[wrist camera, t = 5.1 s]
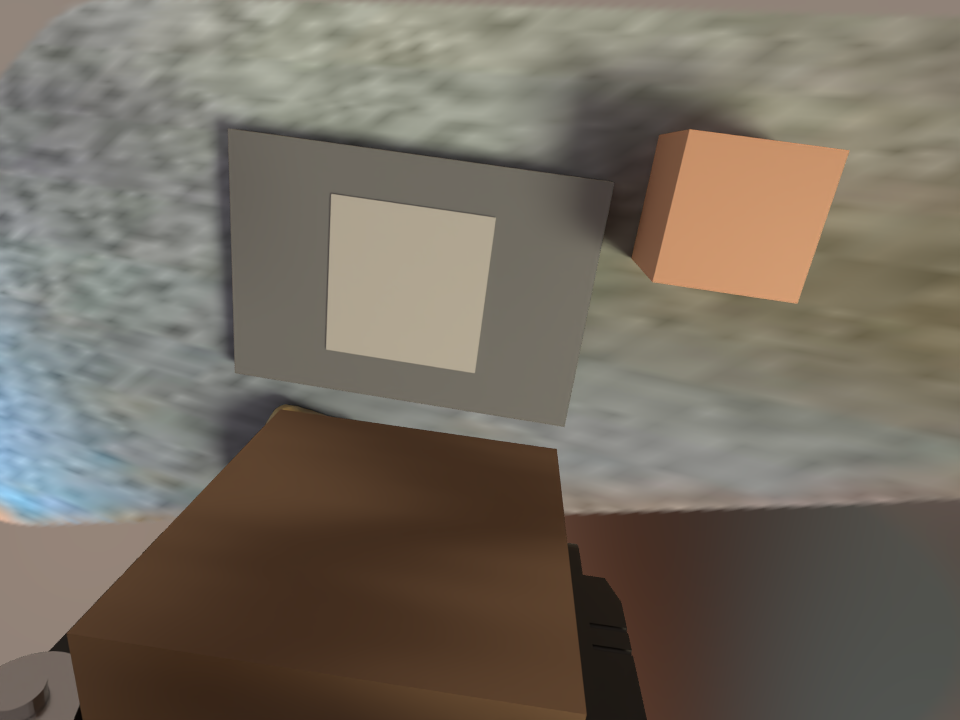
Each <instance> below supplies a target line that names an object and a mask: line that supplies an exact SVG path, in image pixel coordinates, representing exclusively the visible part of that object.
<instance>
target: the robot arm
mask: <svg viewBox="0 0 960 720" xmlns="http://www.w3.org/2000/svg"><path fill="white" fill-rule="evenodd" d="M162 533H163V532H162ZM162 533H161V534H162ZM161 534H160V535H161ZM160 535H159V536H160ZM159 536H158V537H159ZM567 545H568V553H569V562H570V571H571V580H572V589H573V598H574V606H575V615H576V624H577V633H578V642H579V651H580V659H581V668H582V677H583V686H584V695H585V704H586V712H587V716H586V719H585V720H647V718H646V714H645V709H644V705H643V700H642V696H641V691H640V686H639V682H638V677H637V672H636V668H635V663H634V659H633V656H631V651H632V649H631V645H630V640H629V636H628V633H627V627H626V622H625V617H624V613H623V608H622V604H621V601H620V600H619V598H618V597H617V595H616V594H615V592H614V591H613V590H612V588H611V587H610V585H609V584H608V582H607V581H606V580H605V578H599V577H593V576H586V575H583V574H582V568H581V560H580V553H579V548H578V545H577V544H571V543H567ZM146 550H147V549H146ZM146 550H145V551H146ZM145 551H144V552H145ZM144 552H143V553H144ZM143 553H142V554H143ZM126 571H127V570H126ZM126 571H125V572H126ZM119 578H120V577H119ZM119 578H118V579H119ZM106 592H107V591H106ZM106 592H105V593H106ZM105 593H104V594H105ZM104 594H103V595H104ZM103 595H102V596H103ZM102 596H101V597H102ZM101 597H100V598H101ZM100 598H99V599H100ZM99 599H98V600H99ZM98 600H97V601H98ZM85 614H86V613H85ZM85 614H84V615H85ZM84 615H83V616H84ZM83 616H82V617H83ZM80 619H81V618H80ZM80 619H79V620H80ZM79 620H78V621H79ZM78 621H77V622H78ZM0 720H83V719H82V714H81V708H80V703H79V698H78V692H77V687H76V682H75V676H74V671H73V665H72V660H71V655H70V649H69V644H68V638H67V633H66V634H65V635H64V636H63V637H62V638H61V639H60V641H58V642H57V643H56V644H55V645H54V647H53V648H52V649H51V650H50V651H48V652H40V653H35V654H30V655H27V656H23V657H20V658H18V659H15V660H12V661H10V662H8V663H5V664H3V665H1V666H0Z"/></svg>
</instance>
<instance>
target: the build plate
mask: <svg viewBox="0 0 960 720" xmlns="http://www.w3.org/2000/svg"><path fill="white" fill-rule="evenodd" d="M228 154H229V188H230V222H231V256H232V290H233V324H234V358H235V373H238V374H244V375H250V376H256V377H262V378H268V379H274V380H281V381H287V382H293V383H299V384H305V385H311V386H317V387H323V388H330V389H336V390H342V391H348V392H354V393H360V394H366V395H372V396H379V397H385V398H391V399H397V400H403V401H409V402H415V403H421V404H428V405H434V406H440V407H446V408H452V409H458V410H464V411H470V412H477V413H483V414H489V415H495V416H501V417H507V418H513V419H520V420H526V421H532V422H538V423H544V424H550V425H556V426H562V427H564V426H565V422H566V417H567V412H568V407H569V402H570V397H571V392H572V387H573V383H574V378H575V373H576V368H577V363H578V358H579V353H580V348H581V344H582V339H583V334H584V329H585V324H586V319H587V314H588V310H589V305H590V300H591V295H592V290H593V285H594V280H595V275H596V271H597V266H598V261H599V256H600V251H601V246H602V241H603V236H604V232H605V227H606V222H607V217H608V212H609V207H610V202H611V198H612V193H613V188H614V182H612V181H604V180H597V179H590V178H583V177H576V176H569V175H562V174H554V173H547V172H540V171H533V170H526V169H519V168H511V167H504V166H497V165H490V164H483V163H476V162H469V161H461V160H454V159H447V158H440V157H433V156H426V155H418V154H411V153H404V152H397V151H390V150H383V149H375V148H368V147H361V146H354V145H347V144H340V143H333V142H325V141H318V140H311V139H304V138H297V137H290V136H282V135H275V134H268V133H261V132H254V131H247V130H239V129H228Z"/></svg>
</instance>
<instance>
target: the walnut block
mask: <svg viewBox="0 0 960 720" xmlns="http://www.w3.org/2000/svg"><path fill="white" fill-rule="evenodd" d="M67 638H68V644H69V649H70V655H71V660H72V665H73V671H74V676H75V682H76V687H77V692H78V698H79V703H80V708H81V714H82V719H83V720H585V719H586V716H587V712H586V704H585V695H584V686H583V677H582V668H581V659H580V651H579V642H578V633H577V624H576V615H575V606H574V598H573V589H572V580H571V571H570V562H569V553H568V545H567V537H566V527H565V518H564V509H563V500H562V492H561V483H560V474H559V465H558V456H557V449H552V448H545V447H538V446H531V445H524V444H517V443H510V442H503V441H496V440H489V439H483V438H476V437H469V436H462V435H455V434H448V433H441V432H434V431H427V430H420V429H413V428H406V427H399V426H392V425H386V424H379V423H372V422H365V421H358V420H351V419H344V418H337V417H330V416H323V415H316V414H309V413H302V412H295V411H289V410H282V409H280V410H279V411H278V412H277V413H276V414H275V415H274V416H273V417H272V418H271V419H270V420H269V422H268V423H267V424H266V425H265V426H264V427H263V428H262V429H261V430H260V431H259V432H258V433H257V434H256V435H255V436H254V437H253V438H252V439H251V440H250V441H249V443H248V444H247V445H246V446H245V447H244V448H243V449H242V450H241V451H240V452H239V453H238V454H237V455H236V456H235V457H234V458H233V459H232V460H231V461H230V462H229V463H228V465H227V466H226V467H225V468H224V469H223V470H222V471H221V472H220V473H219V474H218V475H217V476H216V477H215V478H214V479H213V480H212V481H211V482H210V483H209V484H208V486H207V487H206V488H205V489H204V490H203V491H202V492H201V493H200V494H199V495H198V496H197V497H196V498H195V499H194V500H193V501H192V502H191V503H190V504H189V505H188V507H187V508H186V509H185V510H184V511H183V512H182V513H181V514H180V515H179V516H178V517H177V518H176V519H175V520H174V521H173V522H172V523H171V524H170V525H169V527H168V528H167V529H166V530H165V531H164V532H163V533H162V534H161V535H160V536H159V537H158V538H157V539H156V540H155V541H154V542H153V543H152V544H151V545H150V546H149V547H148V548H147V550H146V551H145V552H144V553H143V554H142V555H141V556H140V557H139V558H138V559H137V560H136V561H135V562H134V563H133V564H132V565H131V566H130V567H129V568H128V569H127V571H126V572H125V573H124V574H123V575H122V576H121V577H120V578H119V579H118V580H117V581H116V582H115V583H114V584H113V585H112V586H111V587H110V588H109V589H108V590H107V592H106V593H105V594H104V595H103V596H102V597H101V598H100V599H99V600H98V601H97V602H96V603H95V604H94V605H93V606H92V607H91V608H90V609H89V610H88V611H87V612H86V614H85V615H84V616H83V617H82V618H81V619H80V620H79V621H78V622H77V623H76V624H75V625H74V626H73V627H72V628H71V629H70V630H69V631H68V632H67Z"/></svg>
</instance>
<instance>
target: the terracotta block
mask: <svg viewBox="0 0 960 720" xmlns="http://www.w3.org/2000/svg"><path fill="white" fill-rule="evenodd" d="M848 154H849V150H842V149H834V148H827V147H819V146H812V145H804V144H797V143H789V142H782V141H774V140H767V139H759V138H752V137H744V136H737V135H729V134H722V133H714V132H707V131H700V130H692V129H688V130H683V131H677V132H672V133H667V134H661V135H659V138H658V143H657V147H656V152H655V156H654V160H653V165H652V169H651V174H650V178H649V183H648V187H647V191H646V196H645V200H644V205H643V209H642V214H641V218H640V222H639V227H638V231H637V236H636V240H635V244H634V249H633V253H632V259H633V261H634V262H635V263H636V264H637V265H638V266H639V267H640V268H641V270H642V271H643V272H644V273H645V274H646V275H647V276H648V277H649V279H650V280H651V281H652V282H656V283H662V284H669V285H676V286H683V287H689V288H696V289H703V290H710V291H716V292H723V293H730V294H737V295H743V296H750V297H757V298H763V299H770V300H777V301H784V302H790V303H798V300H799V297H800V294H801V291H802V288H803V285H804V282H805V280H806V277H807V274H808V271H809V268H810V265H811V262H812V259H813V256H814V253H815V250H816V247H817V244H818V241H819V239H820V236H821V233H822V230H823V227H824V224H825V221H826V218H827V215H828V212H829V209H830V206H831V203H832V200H833V198H834V195H835V192H836V189H837V186H838V183H839V180H840V177H841V174H842V171H843V168H844V165H845V162H846V159H847V156H848Z"/></svg>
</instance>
